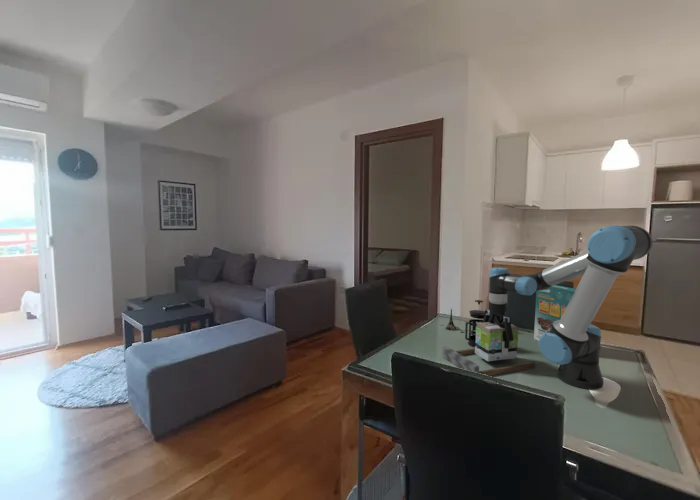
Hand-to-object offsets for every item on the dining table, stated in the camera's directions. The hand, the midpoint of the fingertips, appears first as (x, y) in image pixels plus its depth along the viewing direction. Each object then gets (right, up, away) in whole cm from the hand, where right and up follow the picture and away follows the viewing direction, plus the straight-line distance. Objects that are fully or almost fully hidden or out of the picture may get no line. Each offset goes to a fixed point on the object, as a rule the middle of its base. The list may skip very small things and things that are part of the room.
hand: (495, 350), depth 154 cm
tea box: (0, -3, 0) cm, 3 cm away
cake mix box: (+39, -3, +19) cm, 44 cm away
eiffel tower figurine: (-7, -1, +44) cm, 45 cm away
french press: (-1, -3, +20) cm, 20 cm away
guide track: (-4, -5, -1) cm, 7 cm away
